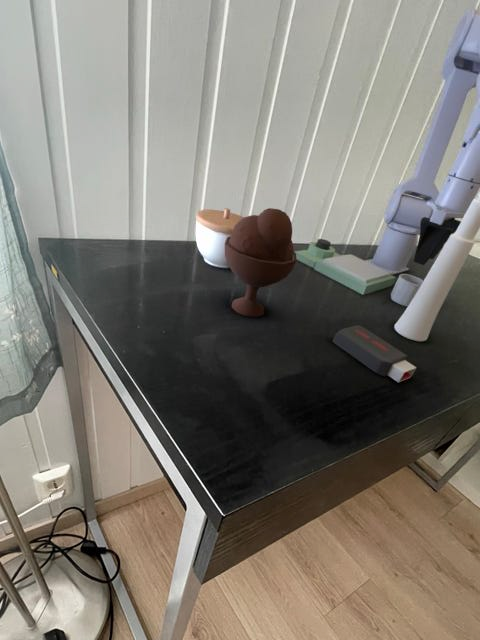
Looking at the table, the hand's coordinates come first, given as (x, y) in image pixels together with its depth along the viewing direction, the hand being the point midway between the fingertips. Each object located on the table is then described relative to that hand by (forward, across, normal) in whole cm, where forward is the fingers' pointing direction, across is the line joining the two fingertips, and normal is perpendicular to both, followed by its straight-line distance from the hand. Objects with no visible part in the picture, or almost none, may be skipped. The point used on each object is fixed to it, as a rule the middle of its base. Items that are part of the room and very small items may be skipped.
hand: (423, 260), depth 73 cm
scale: (+8, -1, -12) cm, 15 cm away
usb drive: (+9, +30, +4) cm, 32 cm away
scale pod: (+8, -2, -22) cm, 24 cm away
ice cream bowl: (+9, +34, -16) cm, 39 cm away
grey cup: (+8, 0, 0) cm, 8 cm away
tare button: (+6, -3, -22) cm, 23 cm away
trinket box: (+9, +22, -32) cm, 40 cm away
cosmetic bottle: (+9, +14, +6) cm, 18 cm away
